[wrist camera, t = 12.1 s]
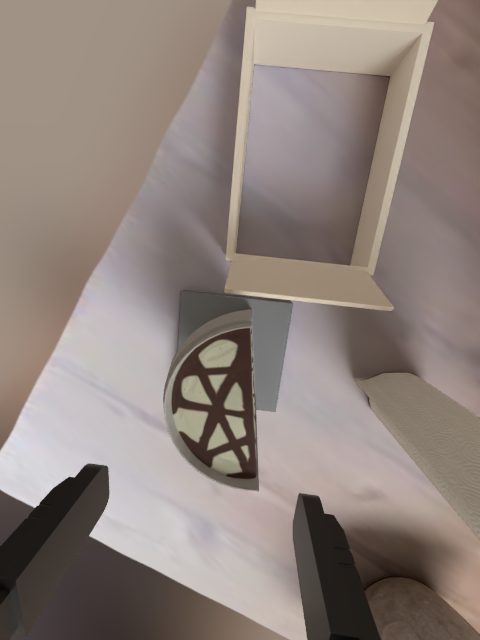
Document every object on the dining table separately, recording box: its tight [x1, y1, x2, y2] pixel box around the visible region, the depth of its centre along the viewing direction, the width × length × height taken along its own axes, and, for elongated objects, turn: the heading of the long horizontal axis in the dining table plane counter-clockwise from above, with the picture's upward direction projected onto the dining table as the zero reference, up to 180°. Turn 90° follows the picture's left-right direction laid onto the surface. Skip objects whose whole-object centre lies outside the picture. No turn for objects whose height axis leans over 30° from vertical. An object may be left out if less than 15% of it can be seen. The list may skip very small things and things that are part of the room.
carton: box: [224, 0, 438, 311], centre depth 16 cm, size 12×20×8 cm, turn 174°
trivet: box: [178, 290, 293, 412], centre depth 24 cm, size 11×12×1 cm
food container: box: [163, 309, 259, 491], centre depth 19 cm, size 12×6×10 cm, turn 3°
